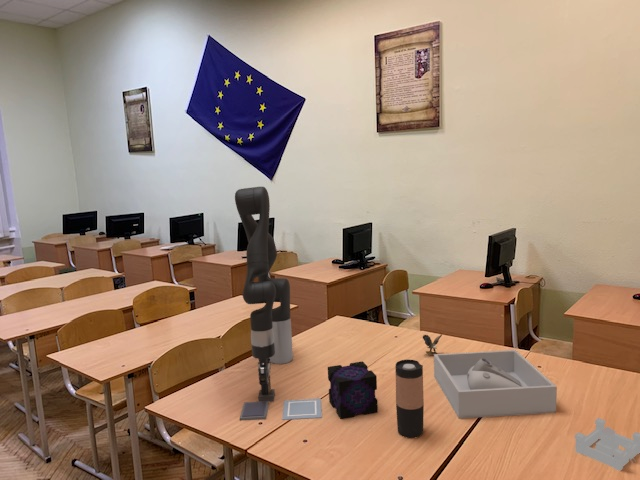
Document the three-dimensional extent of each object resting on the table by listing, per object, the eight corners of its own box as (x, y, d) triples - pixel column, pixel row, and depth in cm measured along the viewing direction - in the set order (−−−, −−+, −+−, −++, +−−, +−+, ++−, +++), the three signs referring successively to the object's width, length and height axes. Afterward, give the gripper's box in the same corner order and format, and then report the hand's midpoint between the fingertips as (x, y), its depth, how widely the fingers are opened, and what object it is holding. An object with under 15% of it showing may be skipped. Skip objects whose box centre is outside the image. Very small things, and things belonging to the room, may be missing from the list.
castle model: (594, 432, 134) (595, 407, 133) (657, 457, 122) (659, 429, 121) (567, 453, 126) (567, 426, 125) (631, 482, 114) (632, 452, 113)
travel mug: (393, 435, 137) (391, 367, 134) (401, 422, 144) (400, 357, 141) (419, 441, 134) (418, 372, 131) (427, 427, 140) (426, 361, 137)
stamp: (260, 395, 166) (258, 373, 164) (274, 394, 166) (273, 372, 164) (258, 402, 161) (256, 379, 159) (273, 401, 161) (272, 378, 159)
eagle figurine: (430, 359, 189) (429, 336, 187) (418, 353, 195) (418, 331, 194) (445, 355, 192) (445, 333, 190) (434, 349, 198) (434, 328, 197)
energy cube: (340, 419, 147) (338, 382, 145) (329, 401, 159) (327, 366, 157) (377, 412, 150) (376, 375, 149) (364, 395, 162) (362, 361, 160)
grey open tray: (434, 376, 173) (433, 354, 172) (515, 372, 174) (515, 349, 172) (458, 418, 145) (458, 392, 143) (556, 413, 145) (556, 386, 144)
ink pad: (244, 405, 159) (243, 401, 159) (268, 403, 159) (268, 400, 159) (239, 421, 149) (239, 417, 149) (266, 419, 149) (265, 416, 149)
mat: (284, 401, 160) (284, 400, 160) (320, 399, 160) (320, 398, 160) (282, 420, 148) (282, 418, 148) (321, 418, 148) (321, 416, 148)
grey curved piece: (498, 408, 148) (499, 375, 146) (454, 389, 162) (454, 358, 160) (530, 392, 157) (530, 360, 155) (485, 375, 171) (485, 346, 169)
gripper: (253, 334, 167) (257, 380, 170) (248, 350, 153) (252, 400, 155) (275, 333, 167) (278, 379, 170) (272, 348, 153) (275, 399, 155)
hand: (266, 389), depth 163 cm, fingers open, 6 cm apart
